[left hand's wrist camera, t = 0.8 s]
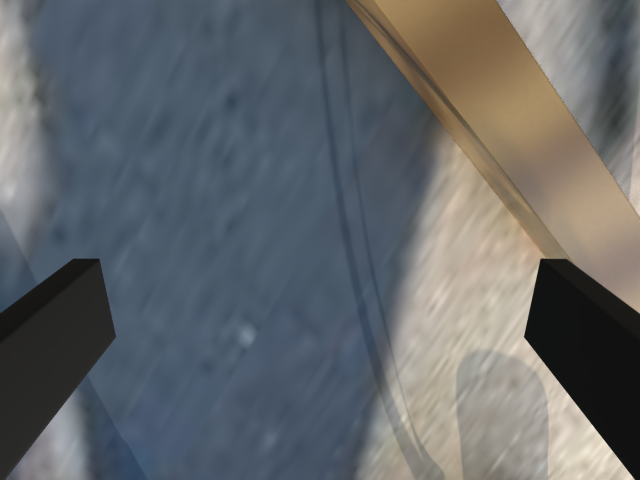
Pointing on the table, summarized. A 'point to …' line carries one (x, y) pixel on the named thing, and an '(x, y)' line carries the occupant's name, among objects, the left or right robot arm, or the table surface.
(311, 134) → the table surface
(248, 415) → the table surface
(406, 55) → the beam
